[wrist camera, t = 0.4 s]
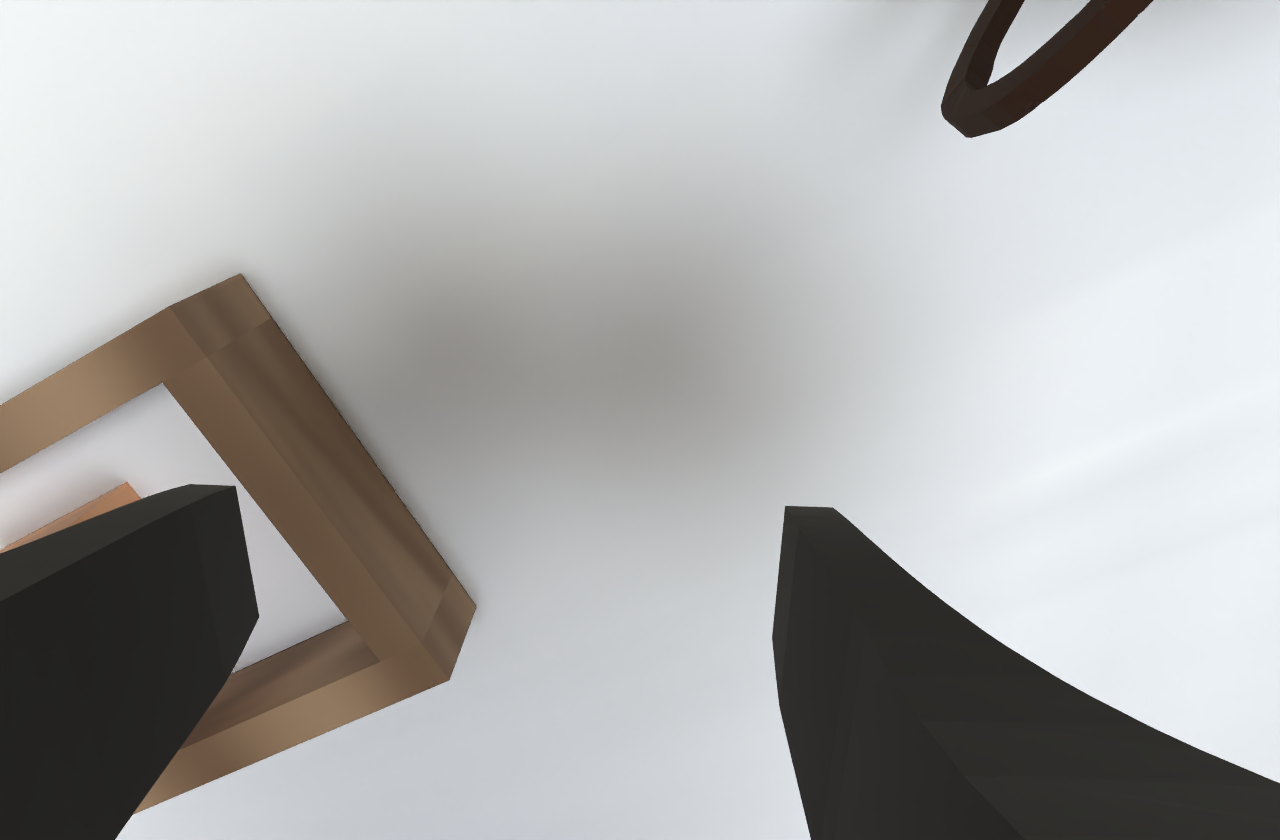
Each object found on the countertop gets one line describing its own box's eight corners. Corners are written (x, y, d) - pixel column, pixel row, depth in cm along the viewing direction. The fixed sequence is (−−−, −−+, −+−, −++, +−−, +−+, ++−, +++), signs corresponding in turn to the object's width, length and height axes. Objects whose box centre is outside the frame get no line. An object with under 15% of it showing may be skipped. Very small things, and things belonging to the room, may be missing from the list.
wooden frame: (240, 273, 20) (168, 306, 17) (476, 606, 23) (449, 680, 20) (-157, 504, 22) (-274, 565, 20) (105, 771, 26) (36, 855, 23)
